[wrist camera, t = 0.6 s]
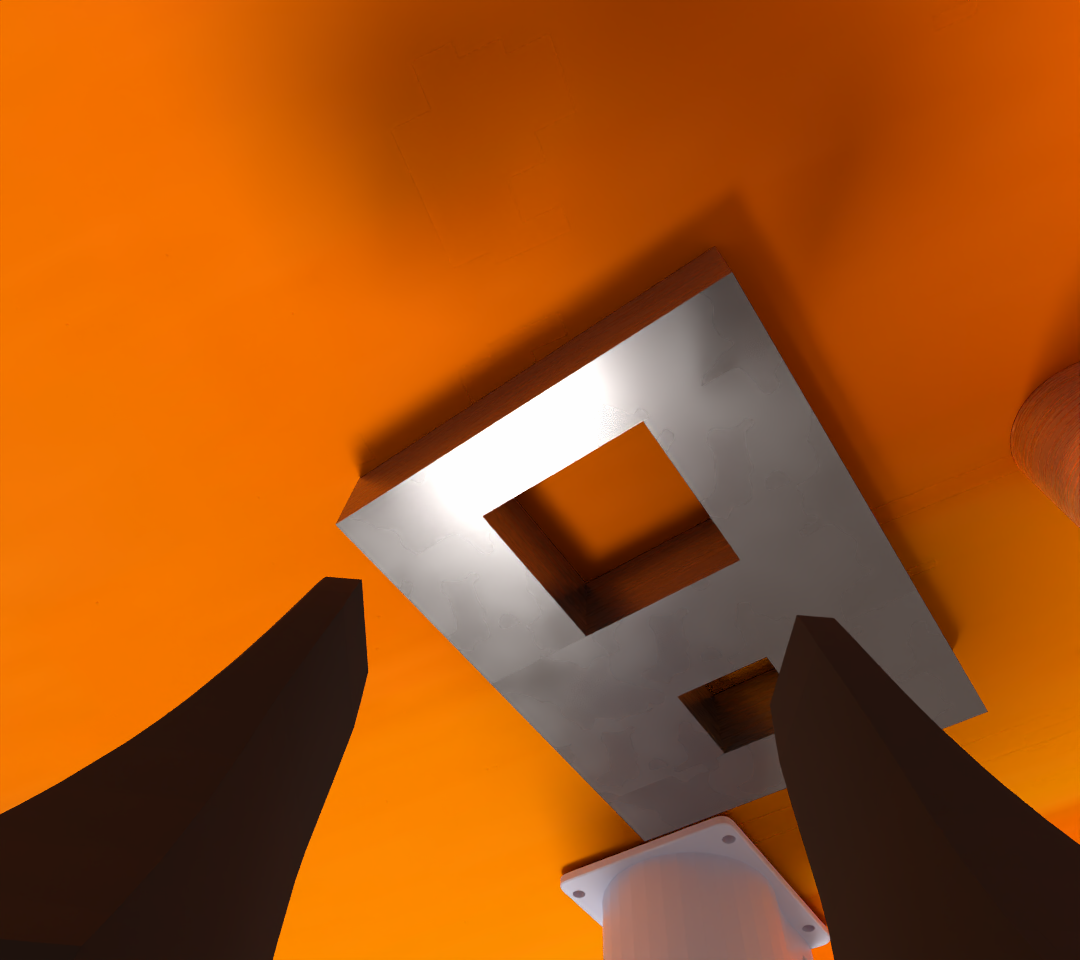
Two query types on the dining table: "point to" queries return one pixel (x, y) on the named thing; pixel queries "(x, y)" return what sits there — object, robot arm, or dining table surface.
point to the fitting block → (653, 554)
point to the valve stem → (1052, 440)
